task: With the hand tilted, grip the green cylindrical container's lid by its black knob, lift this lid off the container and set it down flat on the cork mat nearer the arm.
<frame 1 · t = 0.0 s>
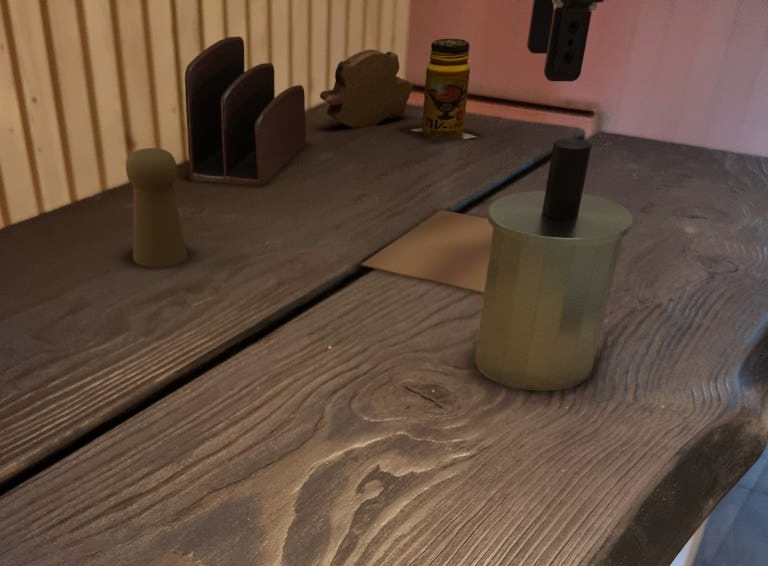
hand: (551, 65, 62), 24 cm above the table, tool pointing down, fingers open, 8 cm apart
green cylindrical container: (531, 367, 82), on the table
letter holder: (250, 166, 127), on the table
flask lid: (558, 221, 73), point 12 cm above the table, touching green cylindrical container
pepper shaker: (160, 262, 101), on the table
wooden carving: (364, 127, 140), on the table
condiment: (438, 137, 136), on the table
cork mat: (484, 257, 101), on the table
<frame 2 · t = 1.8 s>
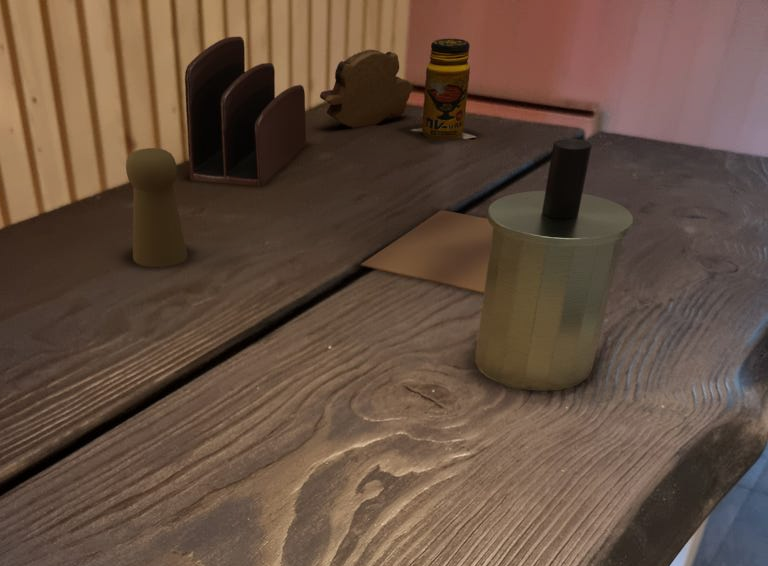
nothing on the table moved.
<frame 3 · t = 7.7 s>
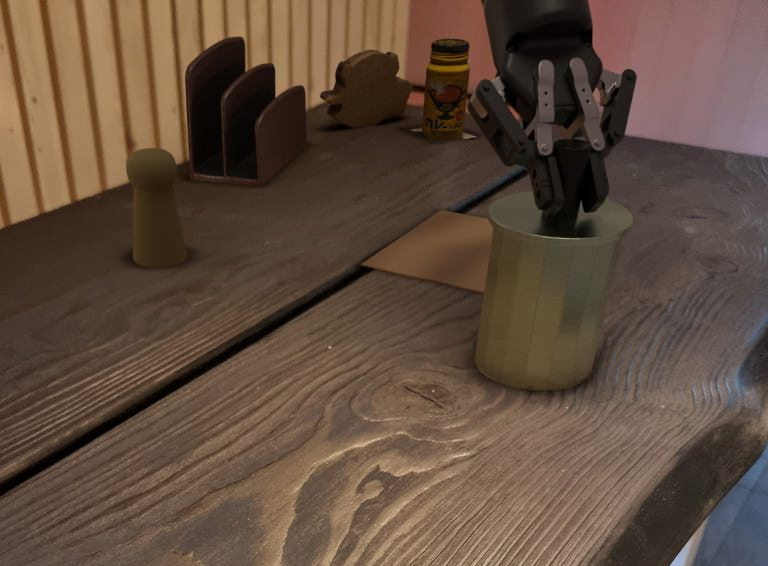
hand: (575, 208, 71), 14 cm above the table, tool tilted 45°, fingers closed on flask lid, 3 cm apart
flask lid: (558, 221, 73), point 13 cm above the table, touching green cylindrical container, gripper
everything else where it was.
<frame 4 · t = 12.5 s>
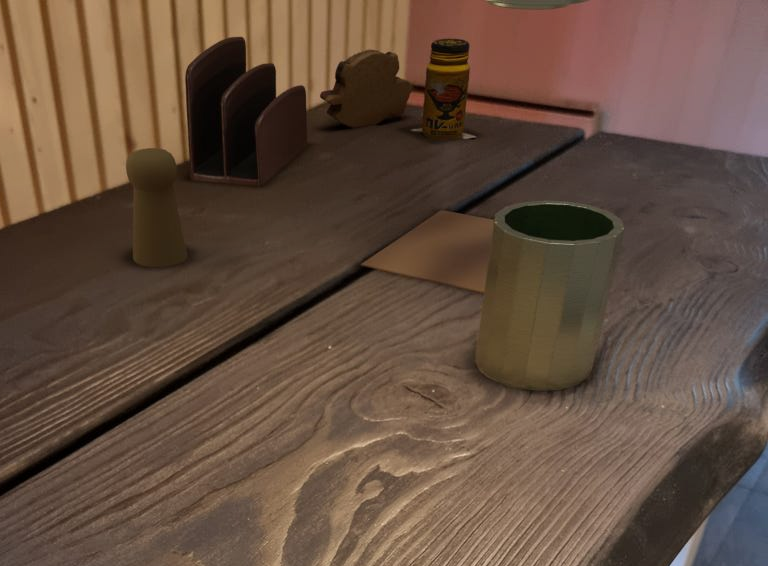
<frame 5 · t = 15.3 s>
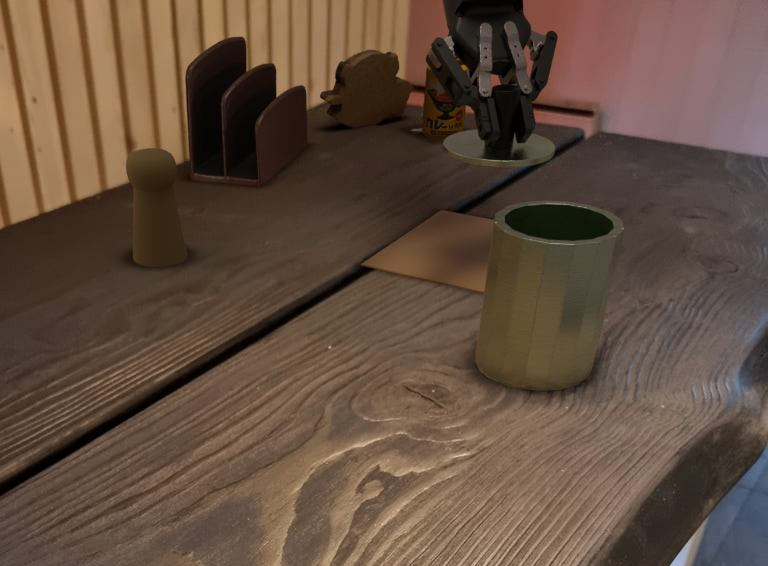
hand: (509, 139, 91), 12 cm above the table, tool tilted 45°, fingers closed on flask lid, 3 cm apart
flask lid: (498, 150, 94), point 11 cm above the table, touching gripper
everything else where it was.
when the fingers open (3 cm above the table, at t = 17.5 s): flask lid stays where it is, resting on cork mat.
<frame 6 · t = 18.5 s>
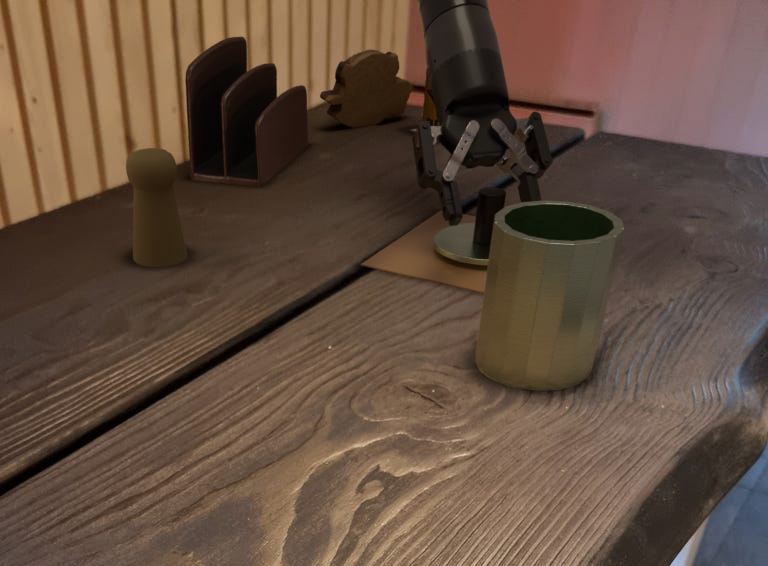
hand: (494, 218, 97), 4 cm above the table, tool tilted 45°, fingers open, 8 cm apart
flask lid: (485, 246, 100), point 1 cm above the table, touching cork mat
everything else where it was.
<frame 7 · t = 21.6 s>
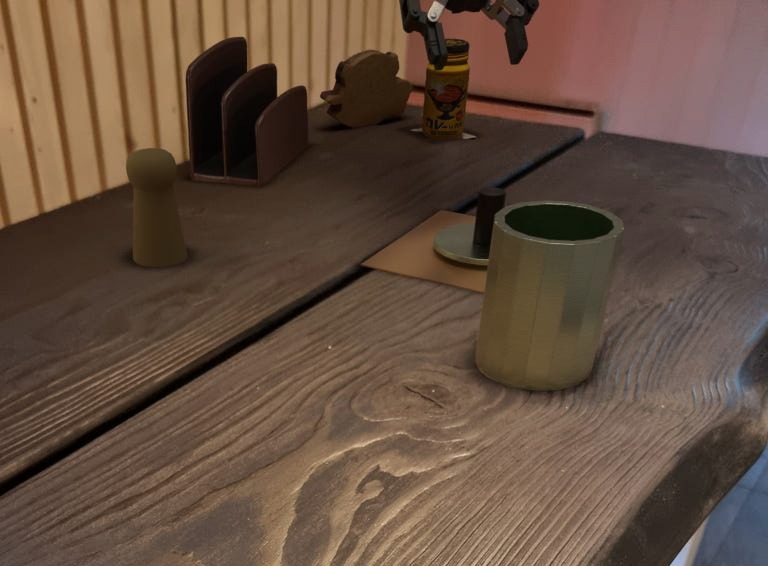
hand: (480, 62, 96), 17 cm above the table, tool tilted 45°, fingers open, 8 cm apart
nothing on the table moved.
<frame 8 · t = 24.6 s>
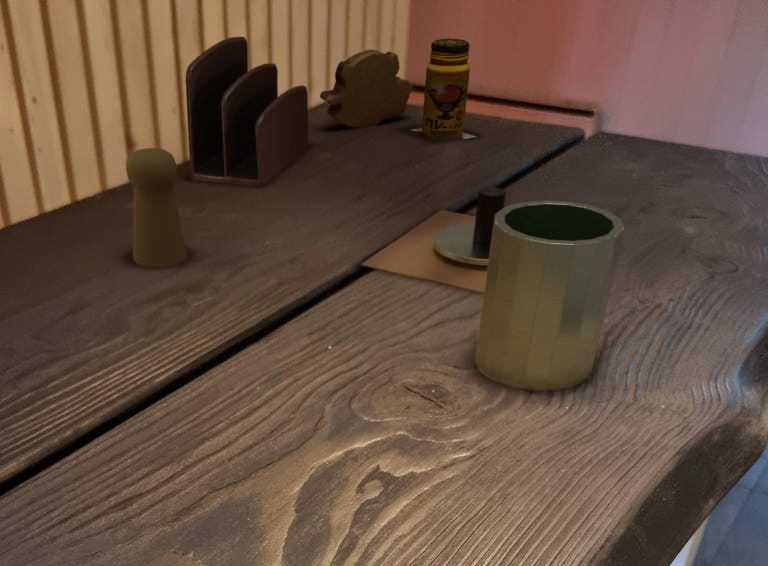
nothing on the table moved.
at the end: flask lid inside the target area on the cork mat (0.1 cm from its centre), point 1.2 cm above the cork mat's base; flask lid tilted 0°; the gripper is holding nothing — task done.
